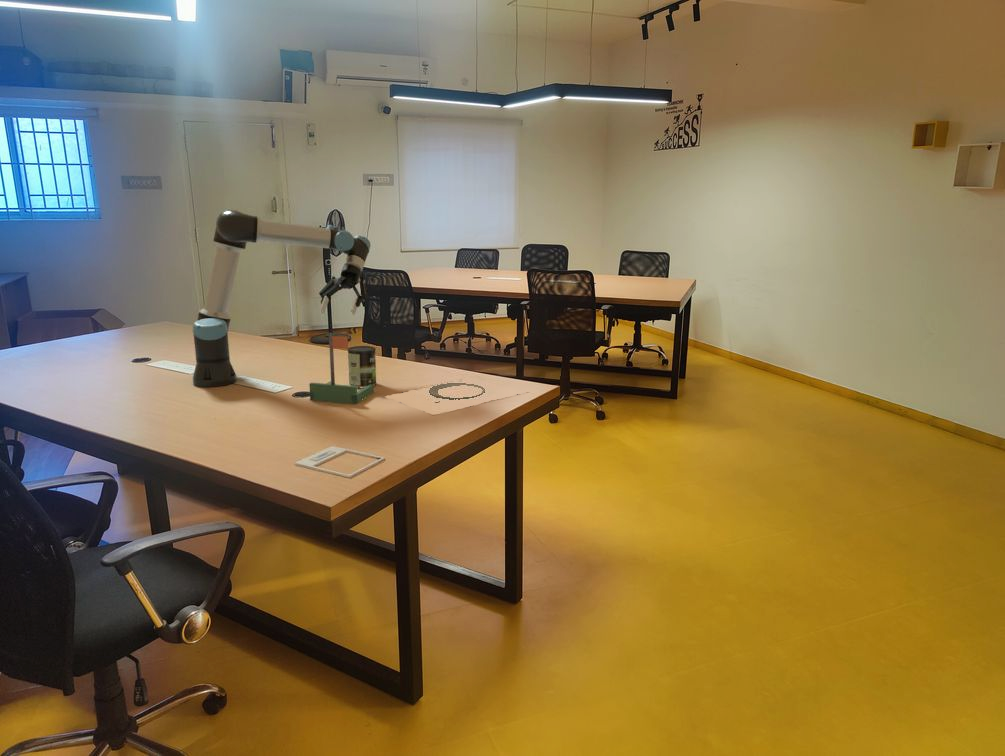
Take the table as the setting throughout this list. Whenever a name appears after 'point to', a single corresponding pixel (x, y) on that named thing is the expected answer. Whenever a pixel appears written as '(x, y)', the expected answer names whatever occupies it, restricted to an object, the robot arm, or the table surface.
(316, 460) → the photo frame
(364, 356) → the coffee can
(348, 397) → the green frame
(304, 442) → the table surface
